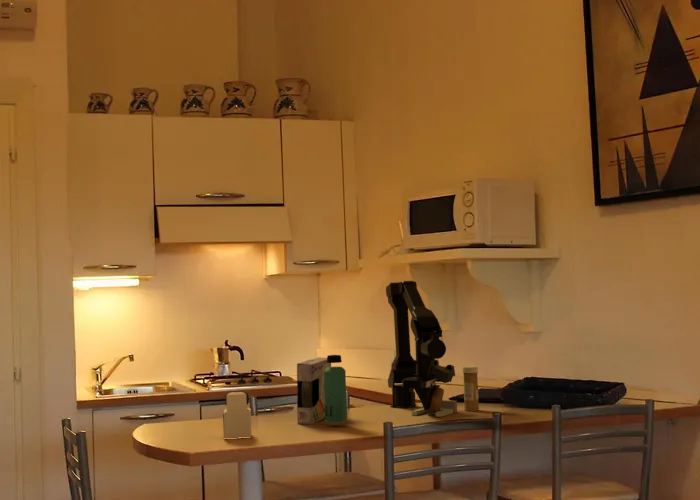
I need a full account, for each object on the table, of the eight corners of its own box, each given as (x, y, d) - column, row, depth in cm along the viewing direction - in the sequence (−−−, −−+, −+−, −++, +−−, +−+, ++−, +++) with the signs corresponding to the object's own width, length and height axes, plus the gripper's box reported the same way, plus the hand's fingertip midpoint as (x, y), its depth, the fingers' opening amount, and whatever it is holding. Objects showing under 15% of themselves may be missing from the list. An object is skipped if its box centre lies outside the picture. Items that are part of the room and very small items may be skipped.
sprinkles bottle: (482, 410, 294) (480, 366, 294) (470, 411, 291) (469, 367, 292) (472, 409, 297) (470, 365, 298) (461, 410, 295) (459, 366, 295)
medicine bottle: (224, 435, 259) (223, 390, 259) (251, 434, 259) (250, 389, 260) (223, 440, 252) (222, 393, 252) (251, 438, 252) (250, 392, 253)
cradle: (411, 415, 287) (411, 410, 287) (424, 411, 294) (424, 407, 294) (440, 416, 282) (440, 412, 282) (453, 413, 289) (453, 409, 289)
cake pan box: (311, 425, 274) (309, 362, 274) (294, 424, 275) (293, 362, 276) (333, 415, 292) (332, 357, 292) (318, 415, 293) (316, 357, 294)
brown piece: (421, 407, 287) (425, 385, 289) (427, 413, 290) (432, 391, 293) (435, 408, 284) (440, 386, 287) (442, 414, 288) (446, 392, 290)
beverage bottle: (351, 424, 272) (349, 353, 272) (343, 428, 266) (341, 355, 266) (329, 424, 274) (327, 353, 275) (321, 427, 268) (319, 355, 268)
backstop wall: (422, 411, 295) (422, 399, 295) (425, 410, 297) (424, 399, 297) (455, 413, 289) (454, 401, 289) (457, 412, 291) (456, 400, 291)
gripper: (434, 359, 273) (436, 415, 273) (463, 354, 289) (465, 407, 288) (400, 359, 280) (402, 413, 279) (431, 354, 295) (432, 405, 295)
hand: (427, 409), depth 285 cm, fingers closed
